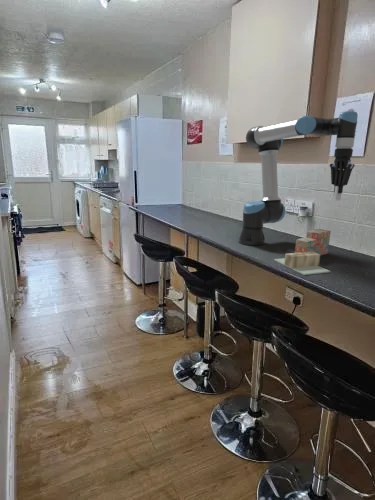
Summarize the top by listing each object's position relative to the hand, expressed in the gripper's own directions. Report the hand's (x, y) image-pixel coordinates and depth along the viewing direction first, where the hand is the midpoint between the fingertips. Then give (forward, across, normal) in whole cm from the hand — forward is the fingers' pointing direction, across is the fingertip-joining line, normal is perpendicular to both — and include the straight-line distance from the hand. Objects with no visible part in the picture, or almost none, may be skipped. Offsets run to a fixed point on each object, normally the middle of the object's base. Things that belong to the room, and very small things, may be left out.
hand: (336, 200), depth 155 cm
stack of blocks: (+29, +6, +6) cm, 30 cm away
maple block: (+25, -8, +15) cm, 30 cm away
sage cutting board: (+28, -8, +23) cm, 37 cm away
